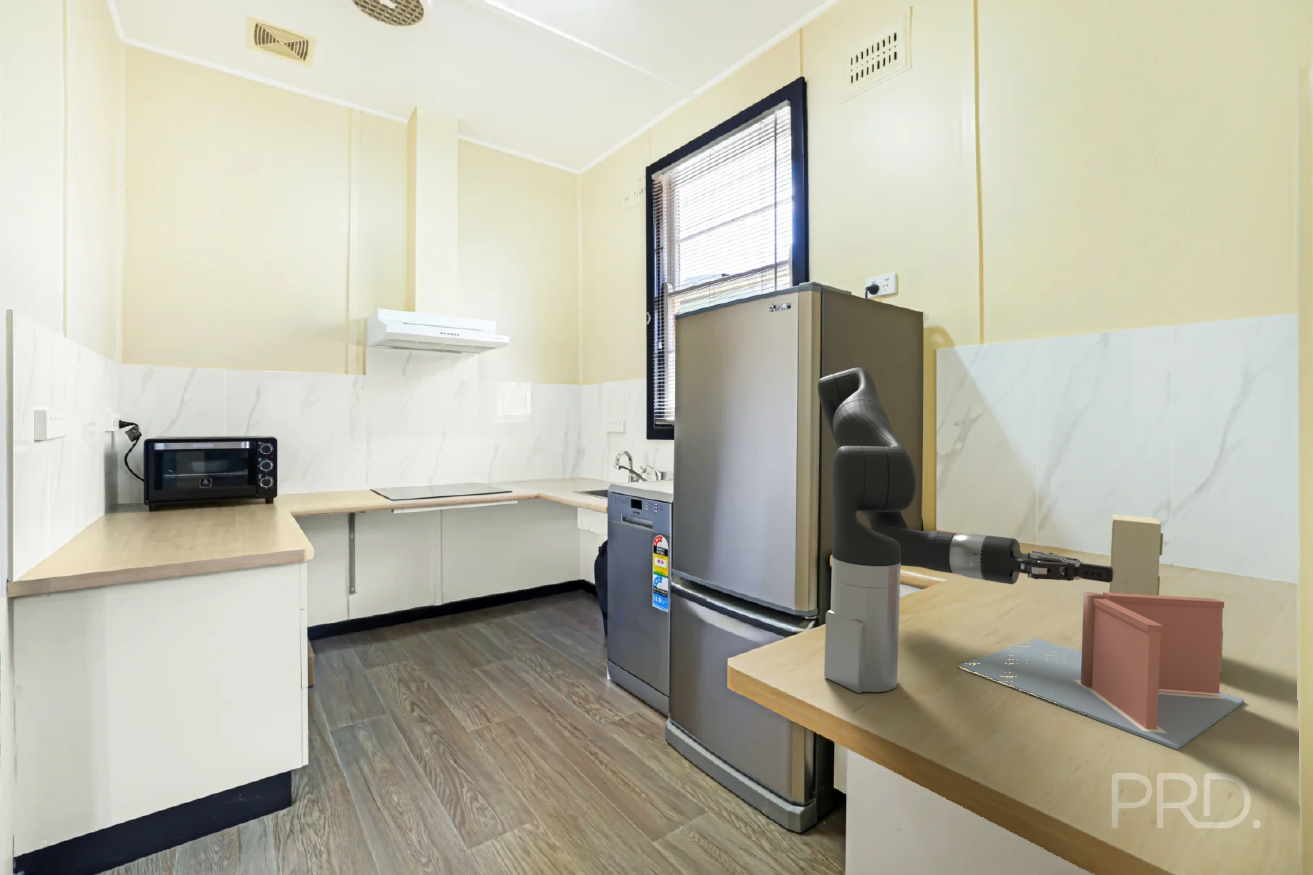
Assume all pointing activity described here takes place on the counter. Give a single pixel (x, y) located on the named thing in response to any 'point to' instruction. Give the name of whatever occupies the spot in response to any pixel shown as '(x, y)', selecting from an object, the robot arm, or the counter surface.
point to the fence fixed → (1121, 658)
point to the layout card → (1042, 677)
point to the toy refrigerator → (1135, 555)
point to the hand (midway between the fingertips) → (1112, 574)
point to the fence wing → (1183, 638)
